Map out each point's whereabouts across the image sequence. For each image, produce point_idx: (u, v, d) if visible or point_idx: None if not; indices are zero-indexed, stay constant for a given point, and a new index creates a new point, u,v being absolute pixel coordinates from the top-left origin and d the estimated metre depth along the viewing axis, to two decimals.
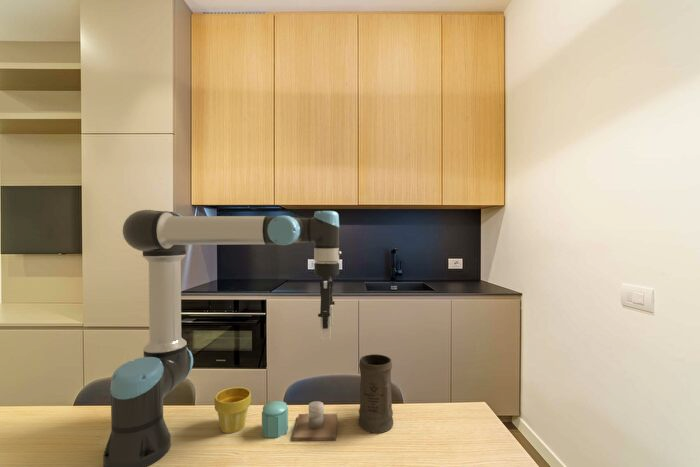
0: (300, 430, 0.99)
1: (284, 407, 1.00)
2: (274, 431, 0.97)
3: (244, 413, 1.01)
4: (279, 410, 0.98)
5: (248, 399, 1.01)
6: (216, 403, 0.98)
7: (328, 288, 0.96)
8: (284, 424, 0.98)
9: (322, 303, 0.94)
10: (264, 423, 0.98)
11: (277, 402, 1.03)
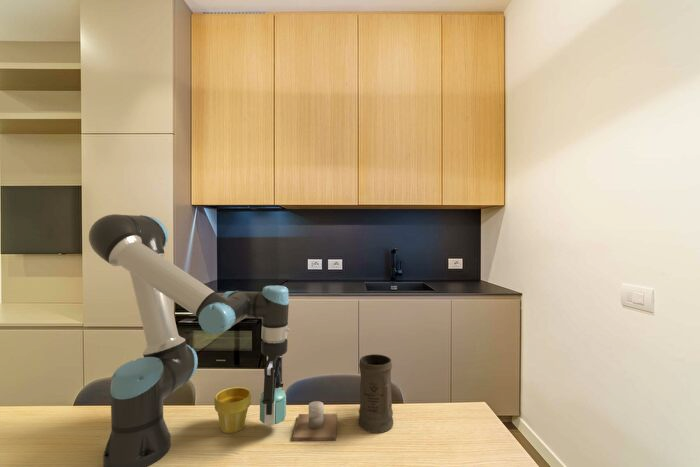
0: (300, 430, 0.99)
1: (282, 394, 1.00)
2: None
3: (244, 413, 1.01)
4: (277, 397, 0.98)
5: (248, 399, 1.01)
6: (216, 403, 0.98)
7: (272, 375, 0.94)
8: (282, 411, 0.98)
9: (265, 391, 0.93)
10: (262, 410, 0.98)
11: (275, 390, 1.03)
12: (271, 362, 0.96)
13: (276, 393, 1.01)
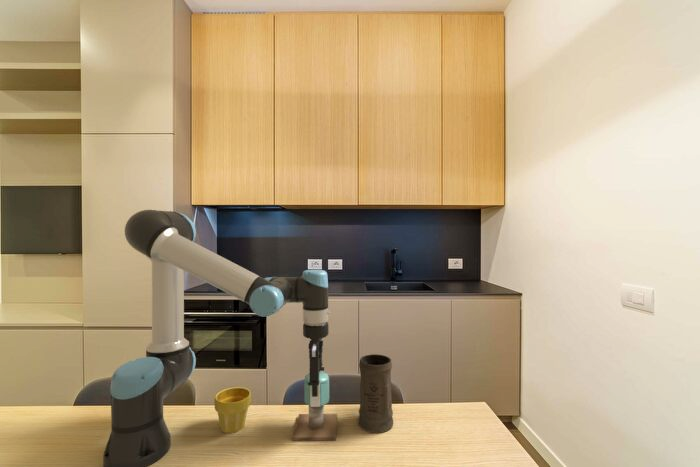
0: (300, 430, 0.99)
1: (326, 377, 1.01)
2: None
3: (244, 413, 1.01)
4: (322, 379, 0.99)
5: (248, 399, 1.01)
6: (216, 403, 0.98)
7: (317, 357, 0.95)
8: (327, 393, 0.99)
9: (311, 373, 0.94)
10: (307, 392, 0.99)
11: None
12: (314, 344, 0.97)
13: (319, 376, 1.02)
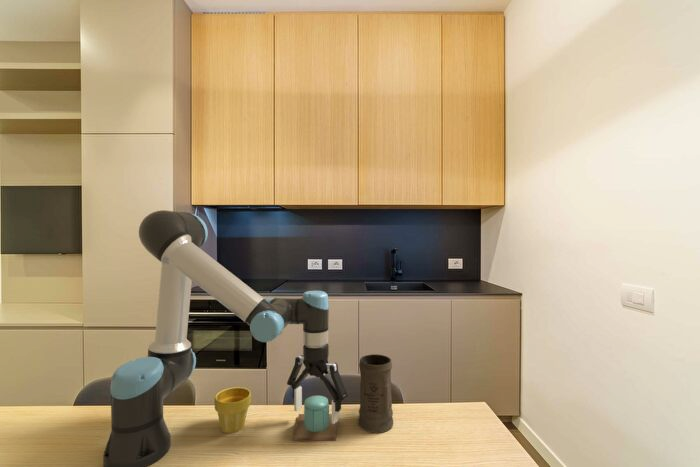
0: (300, 430, 0.99)
1: (323, 397, 1.04)
2: (327, 421, 1.00)
3: (244, 413, 1.01)
4: (325, 400, 1.02)
5: (248, 399, 1.01)
6: (216, 403, 0.98)
7: (337, 370, 0.98)
8: None
9: (340, 387, 0.96)
10: (317, 419, 0.98)
11: (310, 398, 1.03)
12: (326, 363, 0.99)
13: (317, 399, 1.02)
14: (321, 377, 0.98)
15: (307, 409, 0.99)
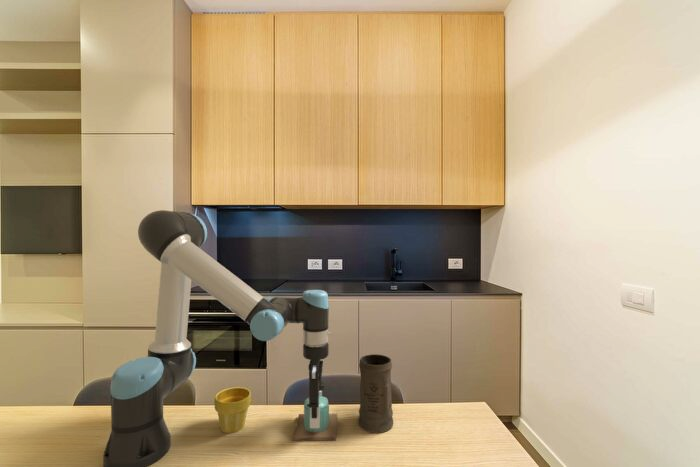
0: (300, 430, 0.99)
1: (323, 397, 1.03)
2: (327, 421, 1.00)
3: (244, 413, 1.01)
4: (325, 400, 1.02)
5: (248, 399, 1.01)
6: (216, 403, 0.98)
7: (316, 379, 0.95)
8: None
9: (311, 395, 0.94)
10: None
11: None
12: (314, 366, 0.97)
13: None
14: None
15: (307, 409, 0.99)
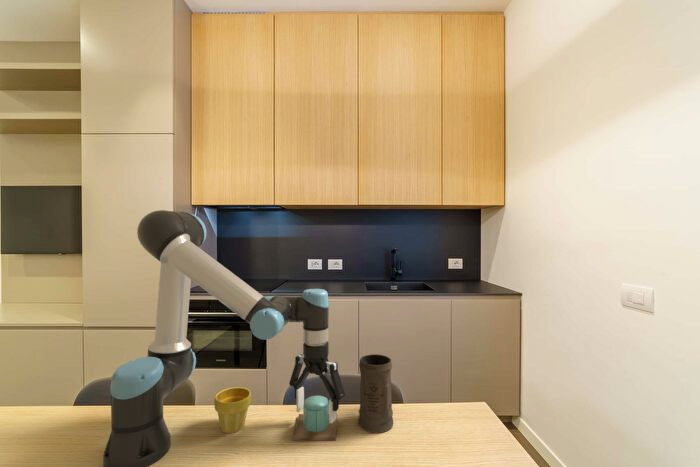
0: (300, 430, 0.99)
1: (313, 396, 1.04)
2: None
3: (244, 413, 1.01)
4: (320, 397, 1.04)
5: (248, 399, 1.01)
6: (216, 403, 0.98)
7: (337, 369, 0.98)
8: None
9: (338, 386, 0.96)
10: (327, 415, 1.00)
11: (308, 403, 1.00)
12: (326, 361, 0.99)
13: (313, 400, 1.02)
14: (320, 375, 0.98)
15: (318, 410, 0.98)
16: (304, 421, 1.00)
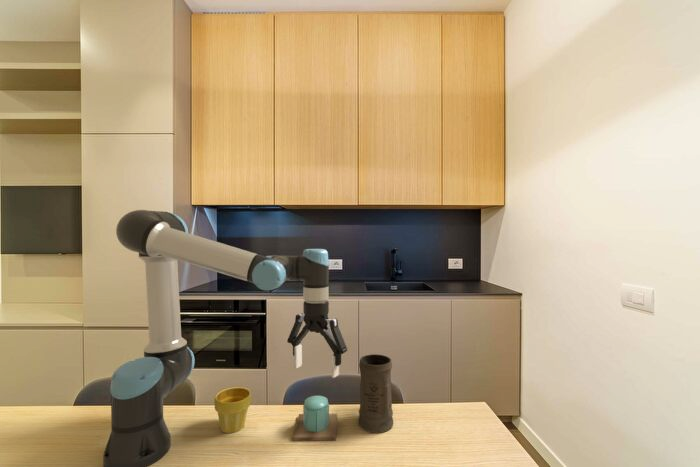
0: (300, 430, 0.99)
1: (313, 396, 1.04)
2: None
3: (244, 413, 1.01)
4: (320, 397, 1.04)
5: (248, 399, 1.01)
6: (216, 403, 0.98)
7: (337, 325, 0.99)
8: None
9: (340, 341, 0.97)
10: (327, 415, 1.00)
11: (308, 403, 1.00)
12: (326, 319, 1.00)
13: (313, 400, 1.02)
14: (321, 332, 0.99)
15: (318, 410, 0.98)
16: (304, 421, 1.00)
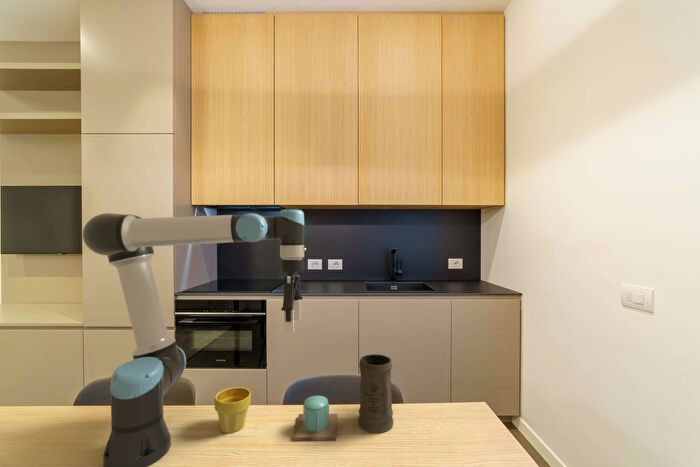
0: (300, 430, 0.99)
1: (313, 396, 1.04)
2: None
3: (244, 413, 1.01)
4: (320, 397, 1.04)
5: (248, 399, 1.01)
6: (216, 403, 0.98)
7: (291, 283, 1.01)
8: None
9: (285, 297, 0.99)
10: (327, 415, 1.00)
11: (308, 403, 1.00)
12: (290, 276, 1.04)
13: (313, 400, 1.02)
14: None
15: (318, 410, 0.98)
16: (304, 421, 1.00)
